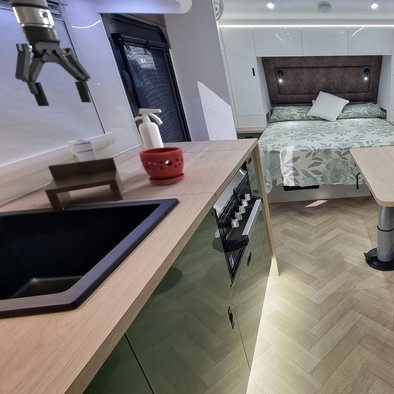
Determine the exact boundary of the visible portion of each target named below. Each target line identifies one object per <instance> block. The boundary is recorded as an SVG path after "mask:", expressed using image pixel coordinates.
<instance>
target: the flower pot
mask: <svg viewBox="0 0 394 394" xmlns="http://www.w3.org/2000/svg"><path fill="white" fill-rule="evenodd" d="M138 153H139V159H140V162H141V166H142V165H143V167H144V169H145V171H144V172H146V173H147V175H148V176H149V178H148V181H149V183H151V184H153V185H159V186H165V185H171V184H175V183H178V182H181V181H182V180H183V179H184V178H185V176H186V174H185V173H184V172H183V170H184V167H185V161H184V154H183V150H182V148H181V147H178V146H164V147H162V148H153V149H148V150H143V149H142V150H141V151H139V152H138ZM167 161H168V163H166V162H167ZM154 163H155V164H156V165H155V164H154Z"/></svg>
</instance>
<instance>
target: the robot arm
mask: <svg viewBox="0 0 394 394" xmlns="http://www.w3.org/2000/svg"><path fill="white" fill-rule="evenodd" d="M0 3H10V5H11V7H12V10H13V12H14V15H15V18H16V21H17V23H18V25H21V26H20V30H21V34H22V36H23V38H24V40H25V41H26V42H27V43H26V42H25V43H22V42H21V43H16V44H15V46H16V51H17V56H16V66H15V74H14V76H15V79H16V80H18V81H19V80H20V81H22V82H23V83H26V85H27V87H28V89H29V92H30V94H31V95H33V96H34V99H35V102H36V104H37V106H38V107H50V104H49V101H48V99H47V95H46V93H45V91H44V88H43V85H42V83H41V81H37V80H38V78H39V77H40V73H41V71H42V70H43V68H44V65H45V64H46V63H51V64H52V63H53V64H57V65H59V66H60V67H62V68H63V70H65V71H66V72H67V73H68V74H69V75H70V76H72V78H74V80H75V81H74V84H75V87H76V90H77V92H78V96H79V98H80V101H81V103H92V100H91V97H90V94H89V91H90V90H89V87H88V84H87V82H89V80H91V78H92V77H91V76H90V74H89V73H88V71H87V70H86V68H85V67H84V66H83V65H82V63H81V62H80V61H79V59H78V58H77V57H76V55H75V54H74V51H73V48H71V47H61V42H62V41H61V38H60V35H59V32H58V30H57V29H56V28H55V27H56V24H55V21H54V18H53V16H52V12H51V10H50V7H49V4H48V2H47V0H0ZM31 53H32V54H31Z"/></svg>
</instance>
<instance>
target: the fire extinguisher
mask: <svg viewBox="0 0 394 394" xmlns="http://www.w3.org/2000/svg"><path fill="white" fill-rule="evenodd" d="M156 113H157V114H158V113H162V110H161V109H158V108H157V109H156V108H138V115H140V116H136V117H134V118H133V119H131V127H132V129H133V131H134V133H135V134H136V136H137V139H138V141H139V144H140V147H141V149H142V151H143V150H148V149H153V148H162V147H165V146H164V144H163V139H162V136H161V133H160V129H159V127H158V125H159V126H161V125H162V124H163V121H162V120H161V118H159V117H158V116H157V114H156ZM155 114H156V115H155ZM149 117H150V118H152V119H153V120H155V121H156V123H157V124H158V125H157V124H156V123H155V122H152V121H151V119H150V118H149ZM138 120H141V121H142V122H141V123H140V124H139V125H138V129H137V128H136V121H138ZM168 162H169V161H167V162H166V163H168ZM154 164H155V163H154ZM155 165H156V164H155ZM140 170H141V171H144V172H146V171H145V169H144V167H143V165H142V164H141V167H140Z"/></svg>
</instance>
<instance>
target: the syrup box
mask: <svg viewBox="0 0 394 394" xmlns="http://www.w3.org/2000/svg"><path fill="white" fill-rule="evenodd" d="M66 142H67V145H68V148H69V150H70V153H71V156H72V157H73V159H74V162H80V161H88V160H96V159H98V155H97V154H96V151H95V148H94V145H93V143H92V141H91V140H90V139H87V138H79V139H73V140H69V141H66Z"/></svg>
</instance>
